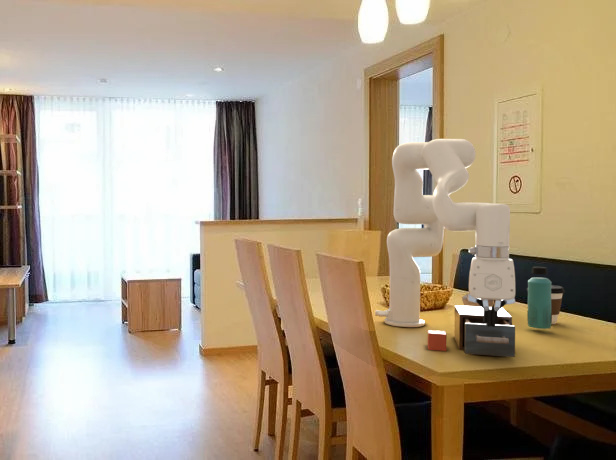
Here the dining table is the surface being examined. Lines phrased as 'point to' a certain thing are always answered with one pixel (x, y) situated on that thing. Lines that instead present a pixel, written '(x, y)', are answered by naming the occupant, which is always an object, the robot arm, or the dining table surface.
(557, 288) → the coffee cup
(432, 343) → the block
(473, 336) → the drawer
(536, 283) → the beverage bottle
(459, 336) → the cabinet
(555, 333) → the dining table surface
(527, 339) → the dining table surface
